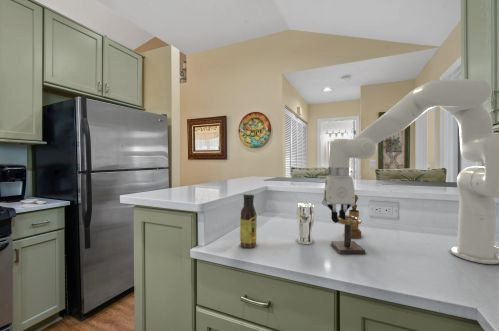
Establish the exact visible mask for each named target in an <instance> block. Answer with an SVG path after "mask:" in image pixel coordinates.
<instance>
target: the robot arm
mask: <svg viewBox="0 0 499 331" xmlns="http://www.w3.org/2000/svg"><path fill="white" fill-rule="evenodd" d="M492 94H493V89H492V86H491V84H490V83H488V82H487V81H486V80H484V79H478V78H464V79H463V78H458V79H436V80H430V81H428V82H425V83H424V84H422V85H419V86H418V87H415V88H413V89H412V90H411V91H409V93H407V94H406V95H405V96H403V97H402V99H400V100H399V101H397V103H395V105H393V106H392V107H391V108H389V109H388V110H387V111H386V112H384V113H383V114H382V115H381V116H379V117H378V118H377V119H376V120H375V121H373V122H371V124H369V125H368V126H367V127H365V128H364V129H363V130H361V132H359V133H358V134H357V135H355V137H353V138H350V139H348V138H333V139H330V141H329V142H328V167H327V168H326V169H324V173H325V174H328V175H326V178H325V183H324V189H323V200H322V201H321V205H323V206H325V207H327V208H328V209H329V210H330V211H331V212H330V213H331V215H330V216H331V217H330V218H331V220H332V222H333V223H334V224H337V223H338V222H337V216H339V218H340V219H343V220H345V215H346V213H347V212H348V210H350V208H352V206H354V205H355V195H356V194H355V193H356V190H355V184H354V183H355V181H354V177H353V176H351V164H352V163H351V162H352V160H351V159H356V160H367V159H370V158H372V157H373V156H375V154H376V153H377V149H378V147H377V145H378V144H379V143H381V142H382V141H384V140H386V139H388V138H390V137H394V136H395V135H397V134H399V133H401V132H403V131H404V130H406V129H407V128H408V127H410V126H411V124H412V123H414V122H415V121H416V120H417V119H419V118H420V117H422V115H423V114H425V113H426V112H427V111H428V110H431V109H435V108H437V107H439V108H440V109H441V110H443V111H444V112H446V113H448V114H450V115H451V116H452V117H453V118H454V119H455V121H456V122H457V125H458V131H459V132H458V133H459V150H460V151H459V152H460V155H461V157H462V159H464V160H465V161H467V162H471V163H476V164H477V163H480V164H484V166H481V165H475V166H474V165H473V166H468V167H465V168H463V169H462V170H460V172H459V173H458V175H457V178H456V186H457V191H458V222H457V240H456V242H457V243H456V246H454V247H452V248H451V250H450V253H452V254H453V255H454V256H456V257H458V258H461V259H463V260H466V261H470V262H474V263H479V264H483V265H484V264H486V265H497V264H499V256H498V255H497V254H499V246H496V245H495V242H496V227H497V226H496V224H497V203H496V200H495V199H499V132H495V131H494V124H493V118H492V115H491V113H490V111H489V110H488V109H487V107H486V106H484V105H485V104H487V102H488V101H489V100H490V99H491V98H492ZM337 205H340V210H338V212H337Z"/></svg>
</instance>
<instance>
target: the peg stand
mask: <svg viewBox="0 0 499 331" xmlns="http://www.w3.org/2000/svg"><path fill="white" fill-rule="evenodd" d="M345 220H351V221H352V219H350V218H345ZM351 226H352V225H345V224H344V228H343V230H344V232H343V234H344V235H343V240H330V245H331V247H332V248H334V249H335V251H337V252H338V254H340V255H365V254H366V249H365V248H363V246H361V245H359V244H358V243H357V242H356V241H354V240H352V238H351Z"/></svg>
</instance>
